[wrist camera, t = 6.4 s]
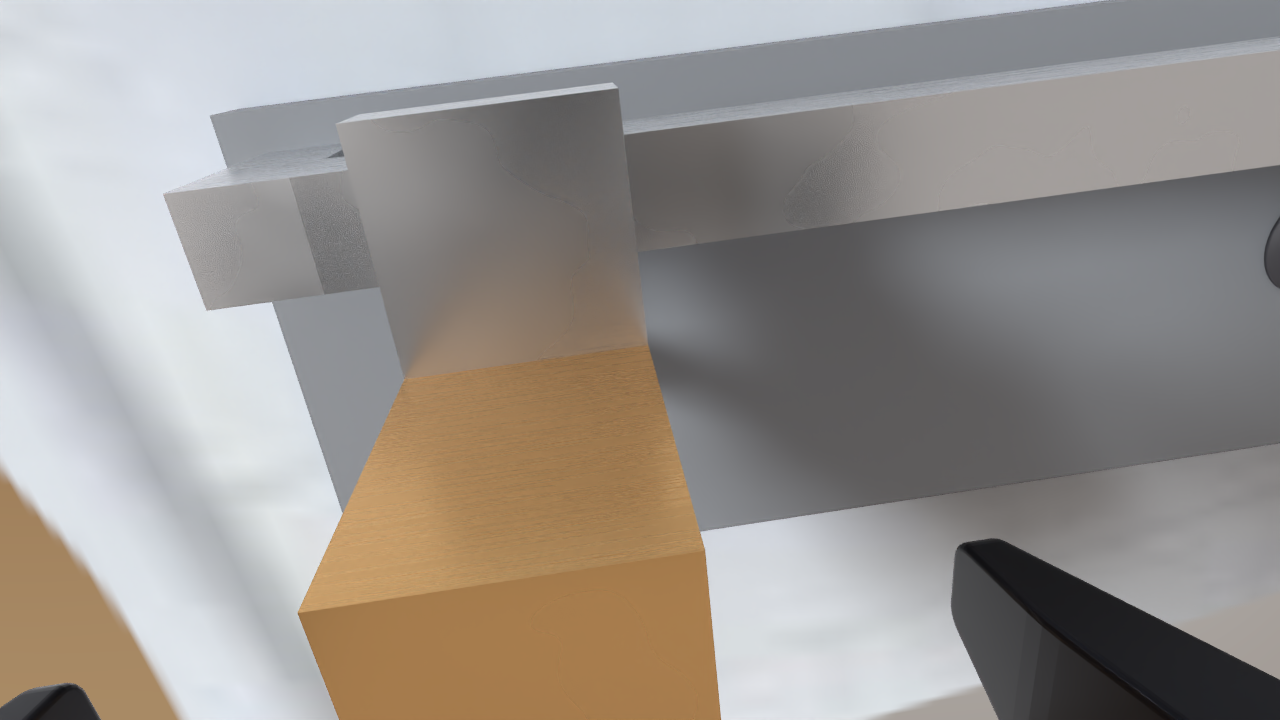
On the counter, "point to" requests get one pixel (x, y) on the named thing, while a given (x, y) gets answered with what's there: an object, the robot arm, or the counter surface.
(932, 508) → the counter surface
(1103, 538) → the counter surface
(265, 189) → the divider frame
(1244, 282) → the bolt plate
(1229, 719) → the robot arm
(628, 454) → the sliding leg
